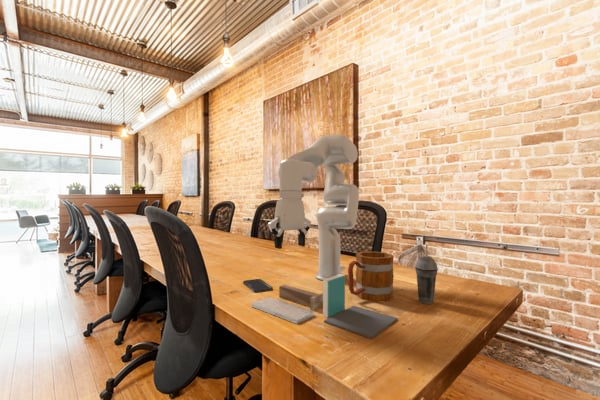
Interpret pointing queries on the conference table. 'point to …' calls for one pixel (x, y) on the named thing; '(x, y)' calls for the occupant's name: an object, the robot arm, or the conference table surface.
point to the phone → (257, 285)
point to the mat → (361, 321)
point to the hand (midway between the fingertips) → (290, 246)
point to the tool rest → (283, 310)
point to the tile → (333, 295)
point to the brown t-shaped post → (301, 296)
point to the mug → (372, 276)
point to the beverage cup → (426, 278)
